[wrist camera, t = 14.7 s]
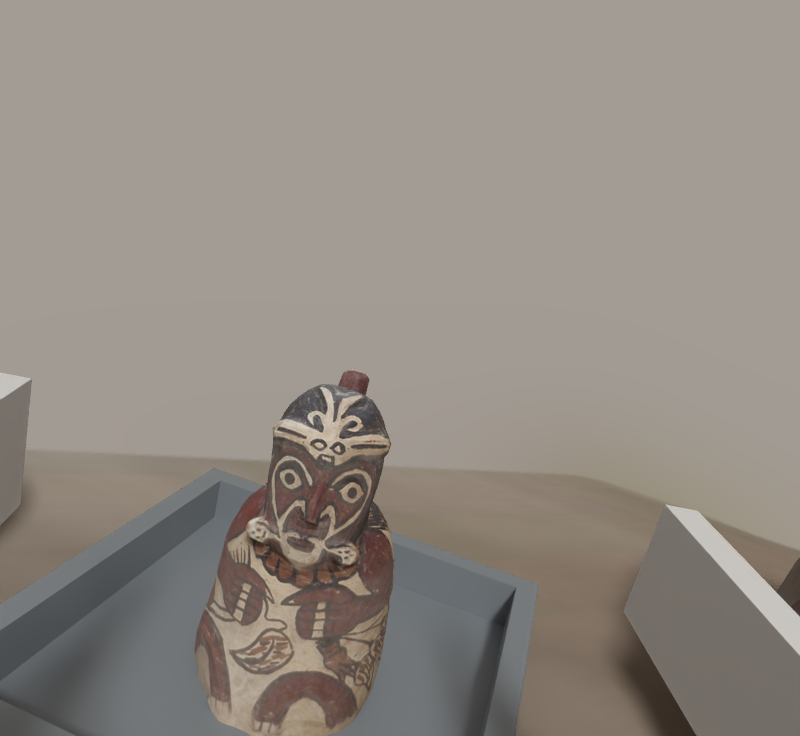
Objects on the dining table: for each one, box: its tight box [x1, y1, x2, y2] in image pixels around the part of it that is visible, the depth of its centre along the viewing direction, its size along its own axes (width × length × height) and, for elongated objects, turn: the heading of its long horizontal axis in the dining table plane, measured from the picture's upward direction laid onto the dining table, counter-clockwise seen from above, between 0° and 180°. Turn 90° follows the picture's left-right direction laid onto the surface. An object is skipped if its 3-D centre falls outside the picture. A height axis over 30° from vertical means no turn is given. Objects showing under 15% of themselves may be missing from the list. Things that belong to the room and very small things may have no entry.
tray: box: [0, 468, 539, 736], centre depth 26 cm, size 18×18×3 cm
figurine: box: [194, 370, 395, 736], centre depth 25 cm, size 7×7×12 cm
